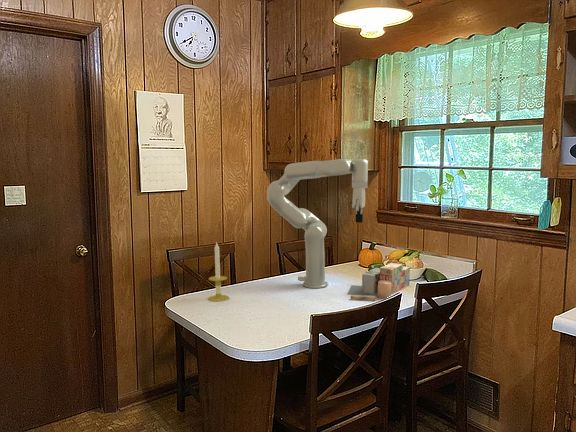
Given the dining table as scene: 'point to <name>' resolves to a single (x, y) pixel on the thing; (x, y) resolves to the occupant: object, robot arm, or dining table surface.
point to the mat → (358, 291)
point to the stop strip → (363, 298)
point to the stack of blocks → (395, 276)
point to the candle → (218, 279)
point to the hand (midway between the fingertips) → (359, 222)
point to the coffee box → (370, 281)
